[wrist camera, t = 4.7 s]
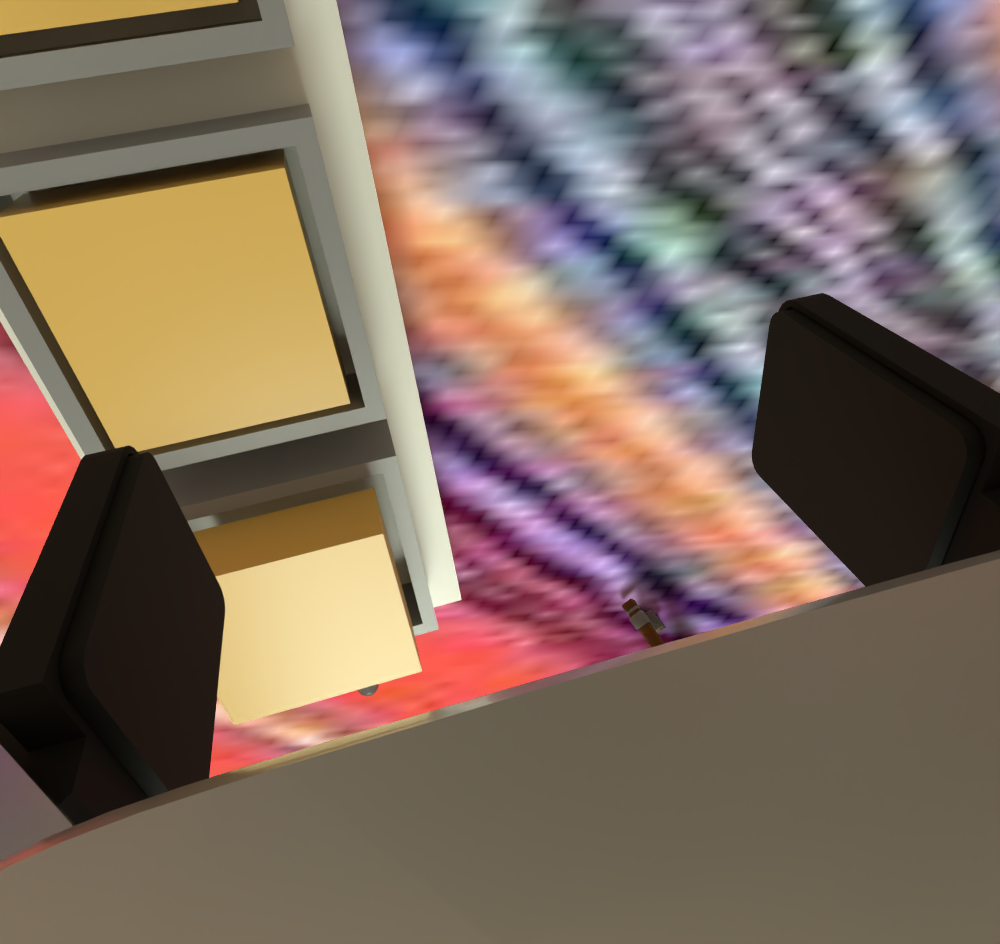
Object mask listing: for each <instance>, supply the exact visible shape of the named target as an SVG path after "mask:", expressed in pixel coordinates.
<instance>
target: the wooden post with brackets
mask: <svg viewBox="0 0 1000 944" xmlns="http://www.w3.org/2000/svg"><path fill="white" fill-rule="evenodd" d="M622 607H623V609H624V610H625V611H626V613H627V615H629V616H630V618H629V619H630V621H631V622H632V624H633V625H634V627H635V628H636V629H637V630H638V631H640V632H641V634H642V635H643V636H644V638H645V639H646V641H647V642H648V644H649V645H650V646H651V648H652V647H655V646H659V645H662V644H665V643H664V642H663V640H662V639H661V637H660V636H659V635H658V633H659V632H660V631H662V630H663V629H664V628H666V627H665V626H664V624H663V623H662V621H661V620H660V619H659V617H658V616H657V615H655V614H654V613H653V612H652V610H651V609H650V610H648V611H647V612H644V611H642V610H641V608H640V607H639V606H638V605H637V603H636V602H635V600H633V599H630V600H629V601H627V602H626V603H625V604H623V605H622Z"/></svg>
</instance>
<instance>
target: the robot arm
mask: <svg viewBox="0 0 1000 944" xmlns="http://www.w3.org/2000/svg"><path fill="white" fill-rule="evenodd" d="M752 461H753V465H754V468H755V470H756V472H757V473H758V475H759V476H760V477H761V478H762V479H763V480H764V481H765V482H766V483H767V484H768V485H769V486H770V487H771V488H772V489H773V491H774V492H775V493H776V494H777V495H778V496H779V497H780V498H781V499H782V500H783V501H784V502H785V503H786V504H787V505H788V506H789V507H790V508H791V509H792V510H793V511H794V512H795V513H796V514H797V516H798V517H799V518H800V519H801V520H802V521H803V522H804V523H805V524H806V525H807V526H808V527H809V528H810V529H811V530H812V531H813V532H814V533H815V534H816V535H817V536H818V537H819V538H820V539H821V541H822V542H823V543H824V544H825V545H826V546H827V547H828V548H829V549H830V550H831V551H832V552H833V553H834V554H835V555H836V556H837V557H838V558H839V559H840V560H841V561H842V562H843V563H844V564H845V566H846V567H847V568H848V569H849V570H850V571H851V572H852V573H853V574H854V575H855V576H856V577H857V578H858V579H859V580H860V581H861V582H862V583H863V584H864V585H865V586H866V587H864V588H860V589H856V590H853V591H849V592H846V593H842V594H839V595H835V596H831V597H828V598H824V599H821V600H817V601H814V602H810V603H806V604H803V605H799V606H796V607H792V608H789V609H785V610H781V611H778V612H774V613H771V614H767V615H764V616H760V617H757V618H753V619H750V620H746V621H743V622H739V623H736V624H732V625H729V626H725V627H722V628H718V629H715V630H711V631H708V632H704V633H701V634H697V635H694V636H690V637H687V638H683V639H680V640H676V641H673V642H669V643H666V644H662V645H659V646H655V647H652V648H648V649H645V650H641V651H638V652H634V653H631V654H627V655H624V656H620V657H617V658H613V659H610V660H606V661H603V662H599V663H596V664H592V665H589V666H585V667H582V668H578V669H575V670H571V671H568V672H564V673H561V674H557V675H554V676H551V677H547V678H544V679H540V680H537V681H533V682H530V683H526V684H523V685H520V686H516V687H513V688H509V689H506V690H502V691H499V692H496V693H492V694H489V695H485V696H482V697H478V698H475V699H472V700H468V701H465V702H461V703H458V704H454V705H451V706H448V707H444V708H441V709H437V710H434V711H430V712H427V713H424V714H420V715H417V716H413V717H410V718H406V719H403V720H400V721H396V722H393V723H389V724H386V725H382V726H379V727H376V728H372V729H369V730H365V731H362V732H358V733H355V734H352V735H348V736H345V737H341V738H338V739H334V740H331V741H328V742H325V743H321V744H318V745H315V746H312V747H308V748H305V749H302V750H299V751H295V752H292V753H289V754H286V755H282V756H279V757H276V758H273V759H269V760H266V761H263V762H260V763H256V764H253V765H250V766H247V767H243V768H240V769H237V770H234V771H230V772H227V773H224V774H221V775H217V776H214V777H211V778H209V772H210V762H211V752H212V742H213V732H214V721H215V711H216V701H217V691H218V681H219V671H220V660H221V650H222V640H223V630H224V620H225V601H224V596H223V593H222V589H221V587H220V585H219V583H218V581H217V579H216V577H215V575H214V573H213V571H212V569H211V567H210V565H209V563H208V561H207V559H206V557H205V555H204V553H203V551H202V550H201V548H200V546H199V544H198V542H197V540H196V538H195V536H194V534H193V532H192V530H191V528H190V526H189V524H188V522H187V520H186V518H185V516H184V514H183V512H182V510H181V508H180V506H179V504H178V502H177V500H176V498H175V496H174V495H173V493H172V491H171V489H170V487H169V485H168V483H167V481H166V479H165V477H164V475H163V473H162V471H161V469H160V467H159V465H158V463H157V461H156V460H155V458H154V456H153V455H152V454H151V453H149V452H146V453H141V454H139V453H138V452H137V451H136V449H135V448H134V447H132V446H130V445H129V446H124V447H120V448H115V449H110V450H106V451H101V452H97V453H92V454H88V455H84V457H83V458H82V459H81V462H80V464H79V466H78V468H77V471H76V473H75V475H74V478H73V480H72V482H71V485H70V487H69V489H68V492H67V494H66V496H65V499H64V501H63V503H62V505H61V508H60V510H59V512H58V515H57V517H56V519H55V522H54V524H53V526H52V529H51V531H50V533H49V536H48V538H47V540H46V542H45V545H44V547H43V549H42V552H41V554H40V556H39V559H38V561H37V563H36V566H35V568H34V570H33V573H32V574H31V576H30V579H29V581H28V583H27V586H26V588H25V590H24V593H23V595H22V597H21V599H20V602H19V604H18V606H17V609H16V611H15V613H14V616H13V618H12V620H11V623H10V625H9V627H8V630H7V632H6V634H5V636H4V639H3V641H2V643H1V646H0V944H1000V393H998V392H996V391H994V390H993V389H991V388H989V387H987V386H986V385H984V384H982V383H981V382H979V381H977V380H975V379H974V378H972V377H970V376H968V375H967V374H965V373H963V372H961V371H960V370H958V369H956V368H954V367H953V366H951V365H949V364H947V363H946V362H944V361H942V360H940V359H939V358H937V357H935V356H934V355H932V354H930V353H928V352H927V351H925V350H923V349H921V348H920V347H918V346H916V345H914V344H913V343H911V342H909V341H907V340H906V339H904V338H902V337H900V336H899V335H897V334H895V333H893V332H892V331H890V330H888V329H887V328H885V327H883V326H881V325H880V324H878V323H876V322H874V321H873V320H871V319H869V318H867V317H866V316H864V315H862V314H860V313H859V312H857V311H855V310H853V309H852V308H850V307H848V306H847V305H845V304H843V303H841V302H840V301H838V300H836V299H834V298H833V297H831V296H829V295H827V294H824V293H821V294H816V295H811V296H807V297H802V298H798V299H793V300H789V301H786V302H785V303H783V304H782V306H781V307H780V309H779V312H777V313H775V314H774V315H773V316H772V318H771V321H770V325H769V332H768V340H767V347H766V354H765V361H764V369H763V376H762V383H761V390H760V398H759V405H758V412H757V419H756V427H755V434H754V441H753V448H752Z"/></svg>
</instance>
